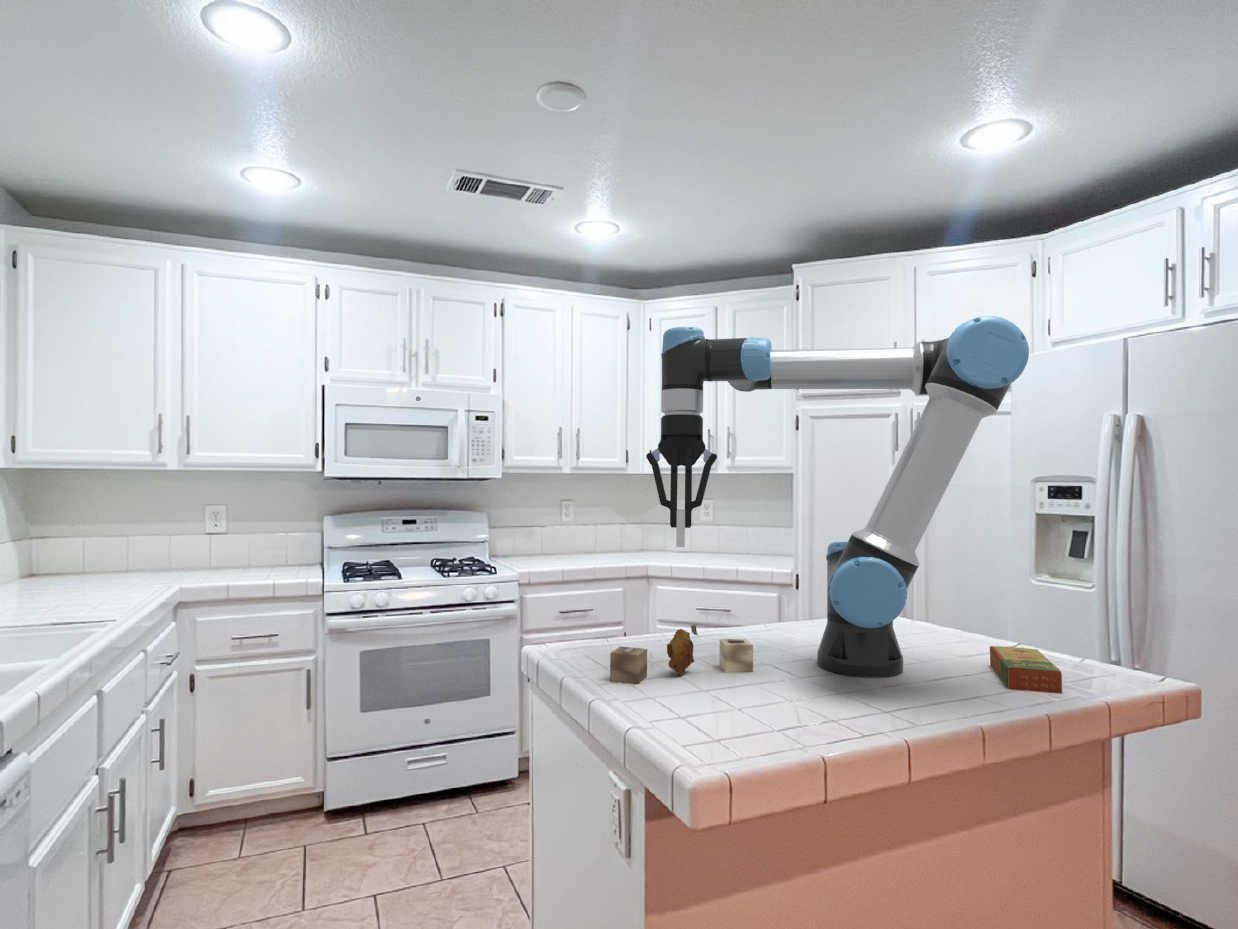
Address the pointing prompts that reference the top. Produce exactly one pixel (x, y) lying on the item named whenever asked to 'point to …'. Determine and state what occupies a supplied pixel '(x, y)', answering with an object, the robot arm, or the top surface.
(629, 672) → the block walnut
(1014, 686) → the carton
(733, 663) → the block maple
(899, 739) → the top surface
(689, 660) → the rock
